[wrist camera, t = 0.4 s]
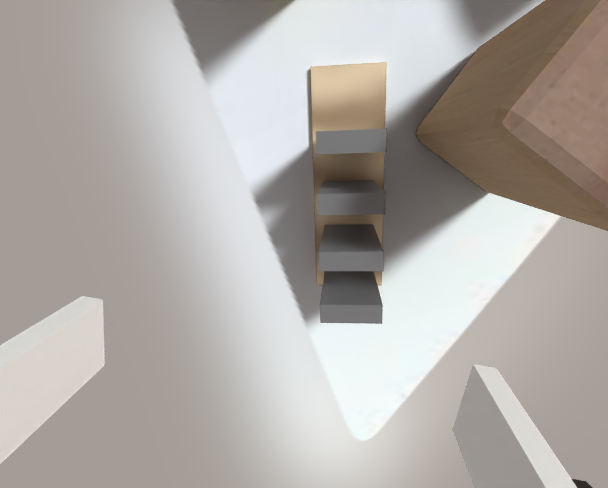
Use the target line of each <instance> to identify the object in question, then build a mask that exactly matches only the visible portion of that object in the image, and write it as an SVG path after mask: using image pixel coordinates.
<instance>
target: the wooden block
mask: <svg viewBox="0 0 608 488" xmlns="http://www.w3.org/2000/svg"><path fill="white" fill-rule="evenodd" d="M416 136H417V138H418V140H419V141H420V142H421V143H422V144H423V145H425V146H426V147H427V148H428V149H430V150H431V151H432V152H434V153H435V154H436V155H438V156H439V157H440V158H442V159H443V160H444V161H446V162H447V163H448V164H450V165H451V166H452V167H454V168H455V169H456V170H458V171H459V172H460V173H462V174H463V175H464V176H466V177H467V178H468V179H470V180H471V181H472V182H474V183H475V184H476V185H478V186H479V187H480V188H482V189H483V190H484V191H486V192H489V193H492V194H495V195H498V196H501V197H504V198H508V199H511V200H514V201H517V202H520V203H523V204H526V205H529V206H532V207H535V208H538V209H542V210H545V211H548V212H551V213H554V214H557V215H560V216H563V217H566V218H569V219H573V220H576V221H579V222H582V223H585V224H588V225H591V226H595V227H597V228H600V229H603V230H607V231H608V0H545V1H544V2H542V3H541V4H540V5H538V6H537V7H535V8H534V9H533V10H531V11H530V12H528V13H527V14H526V15H524V16H523V17H521V18H520V19H518V20H517V21H516V22H514V23H513V24H511V25H510V26H509V27H507V28H506V29H504V30H503V31H502V32H500V33H499V34H497V35H496V36H495V37H493V38H492V39H490V40H489V41H487V42H486V43H485V44H483V45H482V46H480V47H479V48H478V49H477V50H476V52H475V53H474V54H473V56H472V57H471V58H470V60H469V61H468V62H467V63H466V65H465V66H464V67H463V69H462V70H461V71H460V73H459V74H458V75H457V77H456V78H455V79H454V80H453V82H452V83H451V84H450V86H449V87H448V88H447V90H446V91H445V92H444V94H443V95H442V96H441V98H440V99H439V100H438V101H437V103H436V104H435V105H434V107H433V108H432V109H431V111H430V112H429V113H428V115H427V116H426V117H425V118H424V120H423V121H422V122H421V124H420V125H419V126H418V129H417V133H416Z"/></svg>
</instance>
